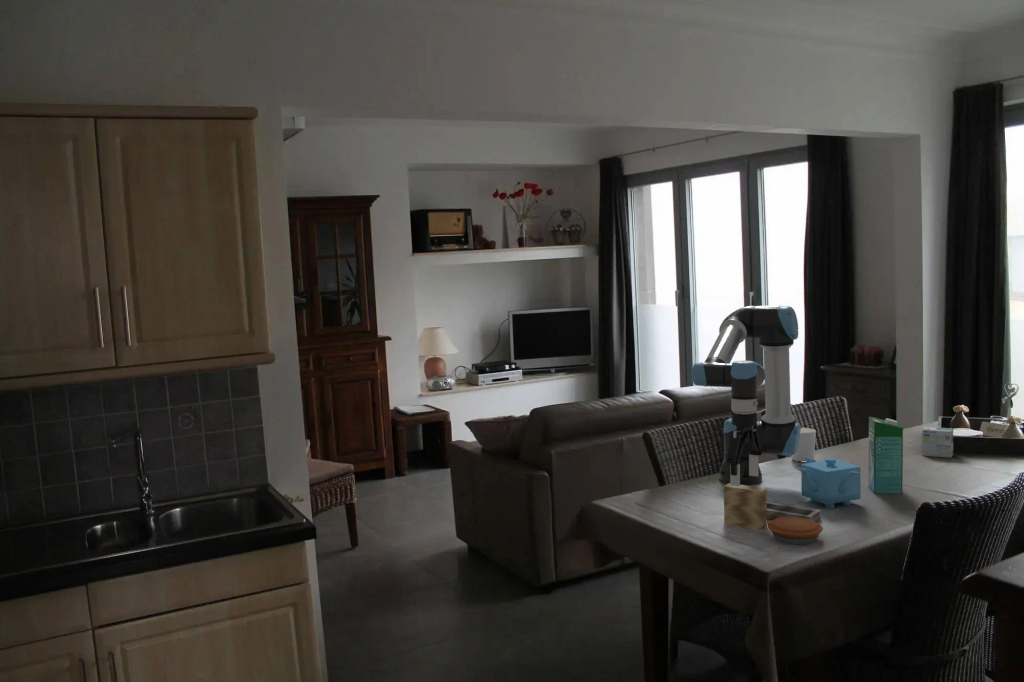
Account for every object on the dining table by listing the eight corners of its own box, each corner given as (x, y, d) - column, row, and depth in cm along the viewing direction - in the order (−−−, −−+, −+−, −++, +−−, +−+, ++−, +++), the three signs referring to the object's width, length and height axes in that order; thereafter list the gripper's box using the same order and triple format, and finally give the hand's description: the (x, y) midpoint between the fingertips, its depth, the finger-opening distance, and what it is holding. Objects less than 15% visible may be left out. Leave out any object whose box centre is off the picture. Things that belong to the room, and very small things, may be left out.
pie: (806, 527, 255) (806, 511, 254) (833, 544, 240) (833, 527, 239) (758, 532, 252) (758, 516, 252) (782, 549, 237) (782, 532, 237)
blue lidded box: (860, 497, 283) (861, 454, 282) (859, 513, 266) (860, 467, 265) (801, 493, 291) (801, 451, 290) (797, 508, 274) (796, 464, 272)
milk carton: (902, 493, 285) (903, 421, 283) (874, 493, 287) (874, 421, 285) (895, 486, 294) (896, 416, 292) (868, 486, 296) (868, 416, 294)
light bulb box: (953, 454, 336) (953, 428, 335) (951, 458, 330) (952, 431, 329) (923, 452, 341) (924, 426, 340) (921, 455, 336) (922, 429, 335)
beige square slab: (724, 523, 261) (723, 486, 260) (730, 520, 264) (729, 482, 263) (761, 530, 253) (760, 491, 252) (766, 526, 257) (766, 488, 256)
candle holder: (784, 458, 339) (784, 429, 338) (805, 455, 342) (805, 426, 341) (800, 463, 330) (800, 433, 329) (821, 461, 333) (821, 431, 332)
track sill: (747, 516, 267) (747, 507, 267) (759, 509, 274) (759, 500, 274) (810, 527, 255) (810, 517, 254) (820, 519, 262) (820, 510, 261)
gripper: (738, 419, 243) (738, 491, 245) (772, 406, 263) (772, 473, 265) (714, 417, 248) (715, 487, 250) (749, 405, 267) (749, 470, 269)
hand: (744, 480), depth 257 cm, fingers open, 13 cm apart
